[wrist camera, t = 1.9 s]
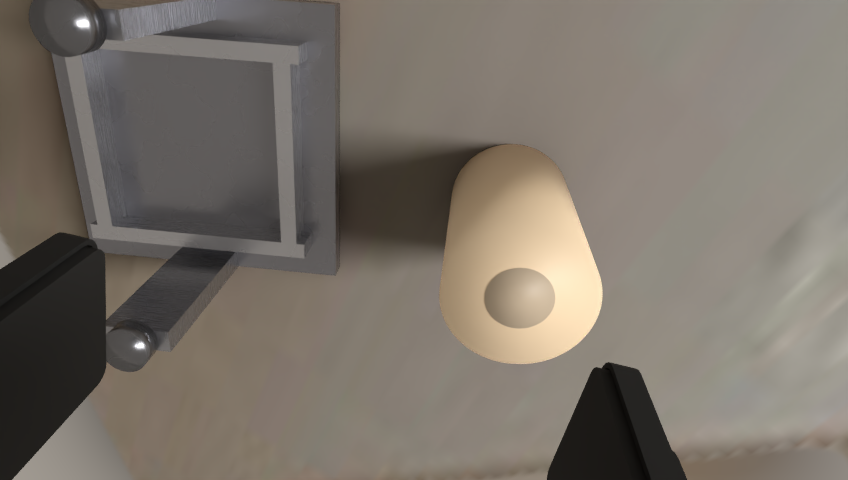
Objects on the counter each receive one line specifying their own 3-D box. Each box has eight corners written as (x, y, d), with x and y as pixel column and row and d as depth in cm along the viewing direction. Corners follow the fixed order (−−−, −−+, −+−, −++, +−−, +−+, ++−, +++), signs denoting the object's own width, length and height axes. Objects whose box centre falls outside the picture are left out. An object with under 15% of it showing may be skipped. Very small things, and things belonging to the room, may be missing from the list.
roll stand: (339, -9, 27) (269, 8, 18) (339, 274, 34) (287, 389, 25) (48, -30, 28) (-156, -25, 19) (103, 251, 35) (-30, 354, 26)
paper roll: (576, 149, 30) (617, 233, 20) (557, 255, 32) (586, 372, 23) (456, 139, 30) (445, 218, 21) (447, 245, 32) (433, 356, 23)
